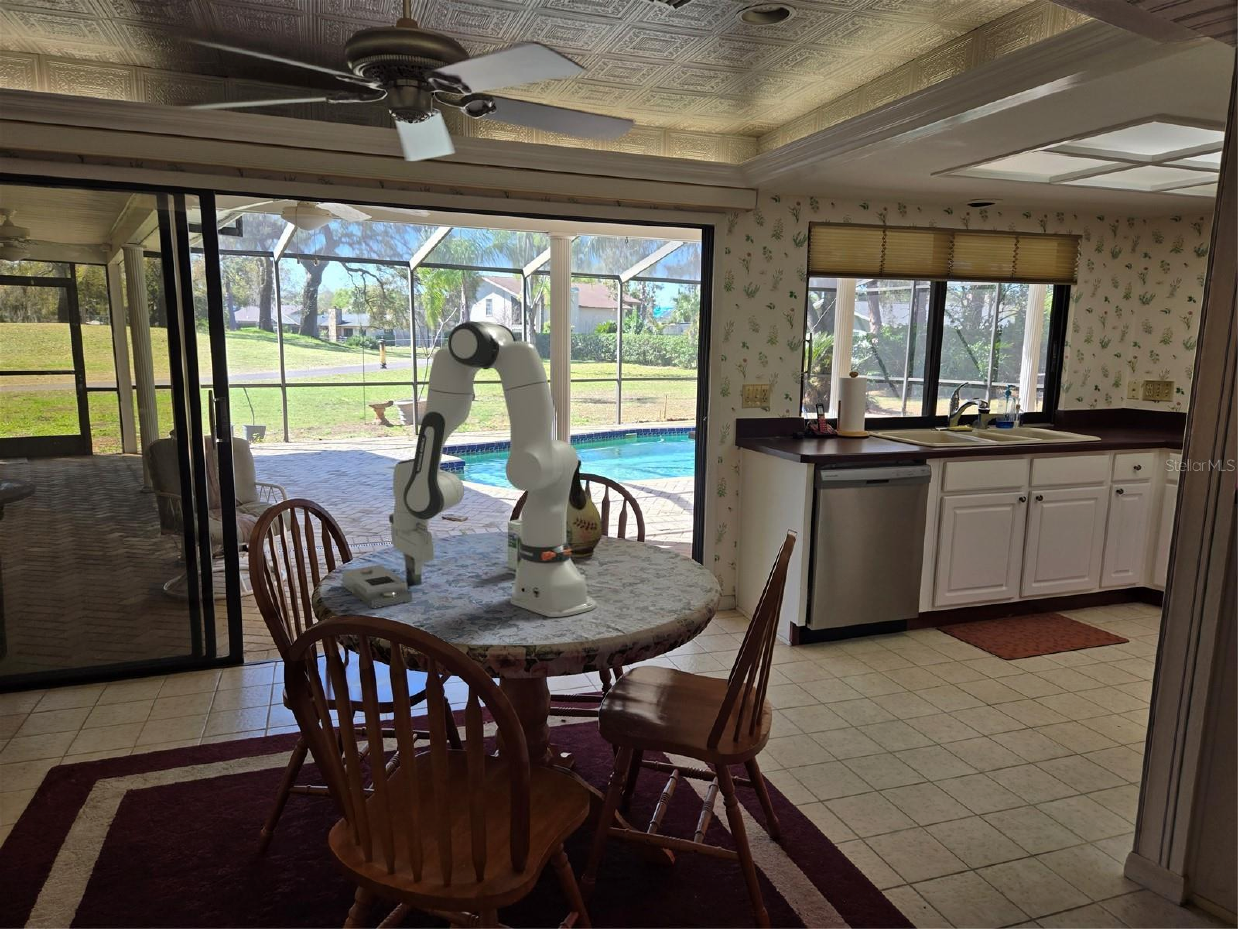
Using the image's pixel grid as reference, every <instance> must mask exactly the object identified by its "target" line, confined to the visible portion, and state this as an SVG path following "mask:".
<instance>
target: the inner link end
mask: <svg viewBox="0 0 1238 929" xmlns="http://www.w3.org/2000/svg"><path fill="white" fill-rule="evenodd" d="M353 595H354V596H355V597H356V596H357V597H358V598H357V597H356V598H357V599H359V600H360V599H361V600H362V601H363V602H362V601H361V600H360V601H361V602H362V603H364V602H365V603H366V604H367V605H366V604H365V603H364V604H365V605H366V606H367V607H369V606H370V607H371V608H374V609H376V608H375V607H379V606H385V607H388V606H389V607H390V606H393V605H394V604H395V605H400V604H404V603H403V602H405V603H410V602H413V593H412V592H411V591H409V590H408V589H407V590H406V591H400V592H395V591H387V592H383V595H378V596H373V597H368V598H367V597H366V596H365V595H363V594H362V593H361V592H359V591H358V590H357V589H356V588H354V594H353ZM399 603H400V604H399ZM370 607H369V608H370ZM371 608H370V609H371ZM379 608H380V607H379Z"/></svg>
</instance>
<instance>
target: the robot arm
mask: <svg viewBox="0 0 1238 929" xmlns="http://www.w3.org/2000/svg"><path fill="white" fill-rule="evenodd" d="M447 340H448V341H447V346H443V347H441V348H439V349H438V350H437V351H436V352H435V354H434V356H433V360H432V364H431V368H430V373H429V378H428V386H427V396H426V403H425V409H424V414H423V417H422V419H421V420H422V421H421V424H420V427H419V431H418V437H417V442H416V447H415V453H414V458H410V459H404V460H400V461H398V462H397V463H396V464H395V466H394V469H393V470H394V471H393V475H392V476H393V477H392V478H393V480H392V489H393V490H392V491H393V496H394V506H393V512H392V513H390V514H389V515H388V521H389V524H390V534H391V536H390V537H391V543H392V545H393V546H392V547H393V548H394V549H396V550H398V551H400V552H402V557H403V561H404V562H405V554H407V555H409V556H410V557H412V558H414V562H415V564H414V567H413V573H415V574H416V575H418V574H421V575H422V573H423V569H422V567H423V565H424V563H430V562H433V561H434V558H435V551H434V550H435V549H434V548H435V547H434V540H433V535H432V533H431V532H430V531H429V530H428V527H429V526H430V519H432V518H434V517H435V516H437V515H439V514H440V513H442V512H445V511H446V510H449V509H451V508H453V507H455V506H456V505H458V504H459V503H460V502H461V501H462V499H463V498H464V493H465V489H464V484H463V481H462V479H461V478H460V476H458V475H457V474H455V473H454V472H450V471H446V470H444V469H441V462H442V456H443V450H444V447H445V444H446V442H447V440H448V439H449V438H450V436H451V435H452V434H453V433H454V431H456V430H457V429H458V428H459V427H460V426H462V424H464V422H466V421H467V419H468V417H469V415H470V412H471V410H472V404H473V395H474V384H475V382H474V381H475V378H476V375H477V373H478V372H479V371H480V370H482V369H483V370H490V369H494V370H495V371H496V372H497V374H498V375H499V379H500V382H501V387H502V392H503V396H504V400H505V405H506V410H507V413H508V414H507V415H508V420H509V428H510V443H509V444H510V445H509V446H510V447H509V455H508V458H507V460H506V463H505V475H506V478H507V480H508V482H509V484H511V486H512V487H513V488H515V489H517V490H519V491H525V492H526V491H527V497H526V500H525V503H524V505H523V507H522V509H521V515H520V516H521V519H520V520H521V529H522V541H521V542H520V547H519V551H520V557H521V561H520V564H519V566H518V567H517V569H516V575H515V581H514V591H513V592H514V593H513V596H512V597H511V598H510V600H509V601H510V602H509V604H511V605H514V606H516V607H519V608H523V609H526V610H528V611H531V612H533V613H537V614H539V615H542V616H544V617H545V616H546V617H549V618H556V617H557V618H558V617H560V618H561V617H566V616H567V617H568V616H573V615H577V614H582V613H585V612H589V611H591V610H594V609H596V608H597V607H598V602H597V601H596V600H594V598H592V597H591V596H589V595H588V589H587V583H586V582H587V577H586V575H585V574H581V572H580V571H579V569H578V567H577V566H576V565H575V564H574V562H573V561H572V559H571V558H572V557H571V554H572V553H570V551H571V550H572V549H570V548H569V545H568V542H567V541H566V514H567V505H568V499H569V494H570V489H571V484H572V478H573V475H574V472H575V470H576V468H577V465H578V460H579V456H578V455H579V454H578V453H577V451H576V449H575V447H573V445H572V444H570V443H568V442H567V441H564V440H561V439H553V422H554V420H555V419H554V418H555V413H556V412H555V407H554V402H553V398H552V393H551V390H550V384H549V382H548V381H549V380H548V377H547V373H546V370H545V367H544V364H543V361H542V359H541V356H540V353H539V350H538V349H537V347H536V346H535V345H534V344H533V343H531V342H528V341H525V340H518V338H517V336H516V334H515V333H514V332H513V331H512V330H511V329H510V328H508V327H507V326H505V325H502V324H495V323H493V322H488V321H474V320H471V321H466V322H465V321H464V322H462V323H459V324H458V325H456V326H455V327H454V328H453V329H452V330H451V332H450V334H449V336H448V339H447Z"/></svg>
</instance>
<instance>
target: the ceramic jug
mask: <svg viewBox="0 0 1238 929" xmlns="http://www.w3.org/2000/svg"><path fill="white" fill-rule="evenodd" d="M581 467H582V461H581V460H580V459H578V465H577V468H576V470H575V472H574V475H573V478H572V484H571V489H570V494H569V499H568V505H567V514H566V541H567V542H568V545H569V548H570V549H572V550H571V551H570V553H572V554H571V557H570V558H583V557H587V556H592V555H594V553H595V550H594V549H596V548H597V546H598V544H599V543H600V541H601V539H602V536H603V522H602V518H601V515H600V512H599V509H598V507H597V506H596V505H595V502H594V501H593V500H592V498H591V497H590V496H589V495H588V493H587V492H586V489H585V490H584V488H583V484H582V483H581V472H580V468H581Z"/></svg>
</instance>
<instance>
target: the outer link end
mask: <svg viewBox="0 0 1238 929" xmlns="http://www.w3.org/2000/svg"><path fill="white" fill-rule="evenodd" d="M341 574H342V576H341V577H342V586H343V588H344V589H346V588H347V589H348V590H347V589H346V590H347V591H349V592H350V591H351V592H352V593H354V588H356V589H357V590H358V591H359V592H361V593H362V594H363V595H365V596H366V597H367V598H368V597H373V596H378V595H383V592H387V591H395V592H400V591H406V590H408V585H407V582H406V580H404V579H403V578H401V577H400V576H398V575H397V574H395V573H393V572H392V571H390V570H389V569H387V568H386V567H384V566H382V565H381V564H379V565H371V566H365V567H360V568H353V569H347V570H342V572H341ZM351 592H350V593H351ZM352 593H351V594H352Z"/></svg>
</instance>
